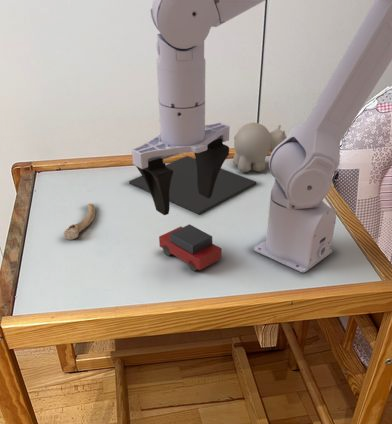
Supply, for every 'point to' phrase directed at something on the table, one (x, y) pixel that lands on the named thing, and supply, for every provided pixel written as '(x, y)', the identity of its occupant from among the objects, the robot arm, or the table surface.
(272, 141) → the toy rhinoceros
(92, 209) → the bone
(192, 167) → the mat
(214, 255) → the toy car
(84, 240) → the table surface
